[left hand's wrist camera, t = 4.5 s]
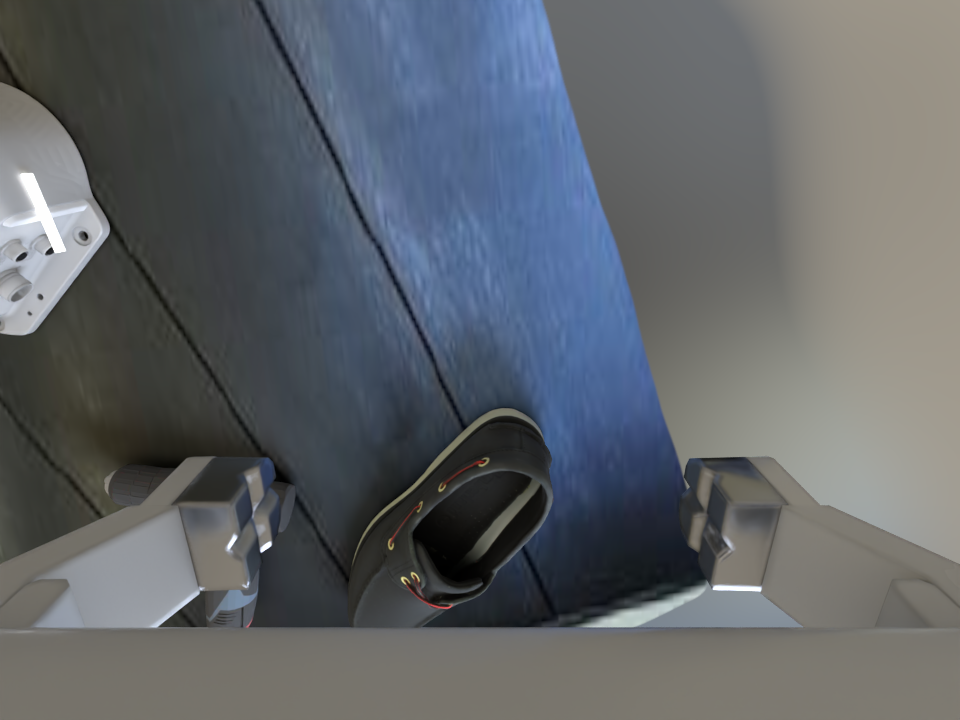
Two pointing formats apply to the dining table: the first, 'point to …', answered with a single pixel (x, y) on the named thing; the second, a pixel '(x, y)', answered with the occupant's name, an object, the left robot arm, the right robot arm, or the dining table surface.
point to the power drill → (221, 605)
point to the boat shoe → (453, 525)
